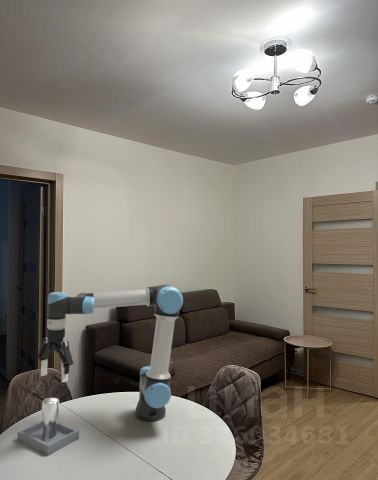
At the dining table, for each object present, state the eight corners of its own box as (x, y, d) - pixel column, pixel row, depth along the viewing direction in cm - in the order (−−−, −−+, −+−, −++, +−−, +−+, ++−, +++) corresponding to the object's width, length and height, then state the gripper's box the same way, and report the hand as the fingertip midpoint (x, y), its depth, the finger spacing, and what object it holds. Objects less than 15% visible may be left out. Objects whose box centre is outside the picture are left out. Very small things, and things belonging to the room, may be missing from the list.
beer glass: (51, 442, 141) (53, 405, 142) (36, 440, 142) (38, 403, 143) (61, 434, 148) (62, 398, 148) (46, 432, 149) (48, 396, 150)
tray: (78, 438, 146) (78, 430, 146) (47, 455, 133) (48, 446, 134) (48, 425, 157) (48, 417, 157) (17, 440, 144) (17, 431, 144)
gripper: (30, 326, 152) (27, 375, 151) (68, 333, 139) (66, 387, 138) (44, 323, 158) (42, 370, 157) (83, 330, 146) (81, 381, 145)
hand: (54, 378), depth 148 cm, fingers open, 13 cm apart
